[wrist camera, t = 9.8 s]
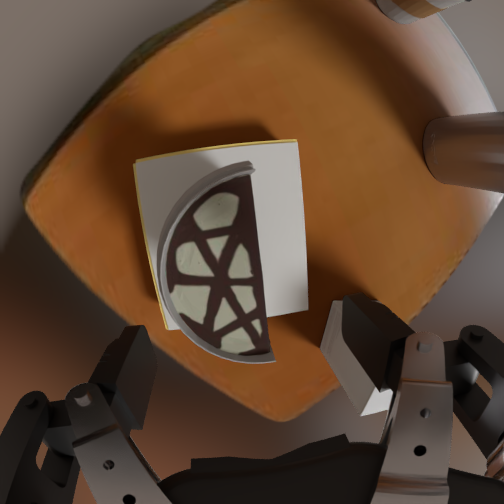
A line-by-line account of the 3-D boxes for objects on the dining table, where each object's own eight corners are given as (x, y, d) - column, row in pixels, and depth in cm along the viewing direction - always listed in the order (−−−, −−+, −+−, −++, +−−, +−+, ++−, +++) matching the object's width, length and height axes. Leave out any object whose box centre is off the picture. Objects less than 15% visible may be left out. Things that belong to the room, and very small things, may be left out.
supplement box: (317, 349, 33) (357, 418, 21) (332, 298, 31) (386, 360, 19) (364, 346, 34) (410, 405, 22) (380, 299, 32) (440, 351, 20)
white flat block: (285, 143, 26) (297, 138, 22) (297, 293, 30) (308, 309, 27) (143, 162, 24) (131, 160, 21) (171, 311, 29) (166, 330, 25)
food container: (163, 177, 21) (128, 178, 12) (235, 166, 22) (254, 157, 12) (188, 310, 25) (180, 382, 15) (252, 300, 26) (276, 367, 16)
